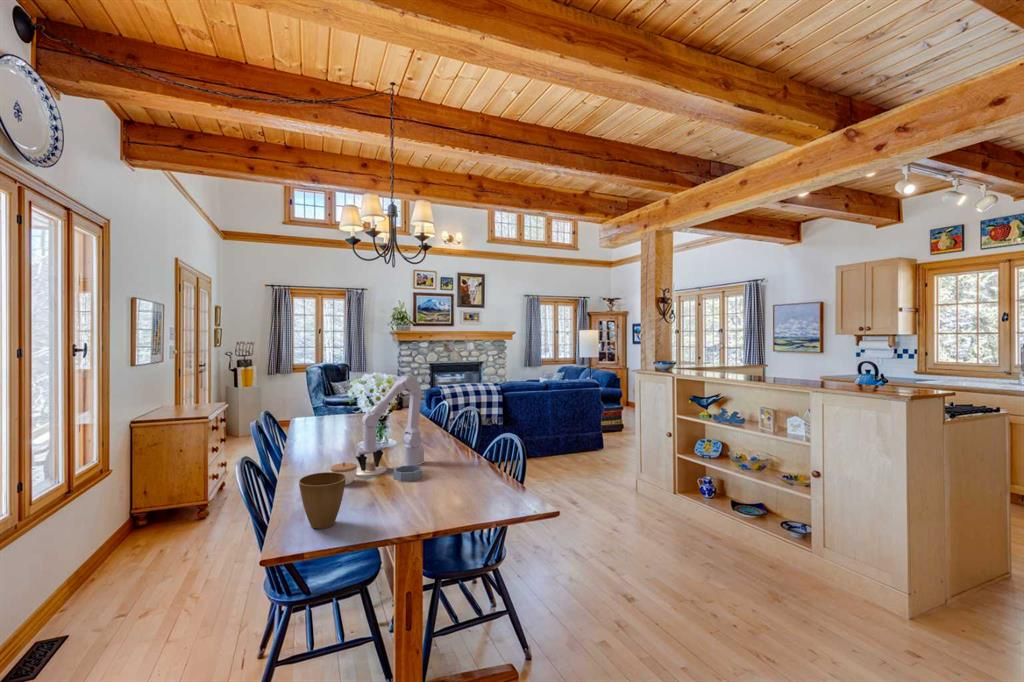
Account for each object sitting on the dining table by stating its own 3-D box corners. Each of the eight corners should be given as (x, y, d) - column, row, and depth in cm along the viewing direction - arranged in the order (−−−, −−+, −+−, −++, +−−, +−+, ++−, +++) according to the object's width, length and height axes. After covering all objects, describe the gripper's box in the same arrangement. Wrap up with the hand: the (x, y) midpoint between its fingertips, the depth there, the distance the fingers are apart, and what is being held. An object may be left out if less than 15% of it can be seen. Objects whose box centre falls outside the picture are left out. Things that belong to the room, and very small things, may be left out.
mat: (372, 464, 239) (372, 463, 239) (397, 470, 229) (397, 469, 229) (341, 473, 224) (341, 472, 224) (366, 480, 214) (366, 479, 214)
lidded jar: (361, 480, 213) (360, 459, 213) (350, 488, 203) (350, 466, 202) (337, 479, 214) (337, 458, 214) (326, 487, 204) (325, 465, 204)
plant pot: (289, 532, 158) (289, 483, 158) (315, 515, 173) (315, 470, 172) (331, 535, 155) (330, 486, 155) (354, 518, 170) (354, 473, 170)
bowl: (408, 472, 226) (408, 464, 226) (427, 476, 219) (427, 468, 219) (388, 478, 216) (388, 470, 216) (407, 483, 209) (407, 474, 209)
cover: (372, 465, 237) (372, 456, 236) (393, 470, 228) (393, 461, 228) (346, 472, 224) (346, 463, 224) (367, 478, 216) (367, 468, 216)
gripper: (376, 436, 234) (376, 463, 234) (351, 441, 222) (351, 470, 222) (386, 437, 230) (386, 466, 230) (361, 443, 218) (361, 473, 218)
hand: (369, 468), depth 226 cm, fingers open, 7 cm apart
